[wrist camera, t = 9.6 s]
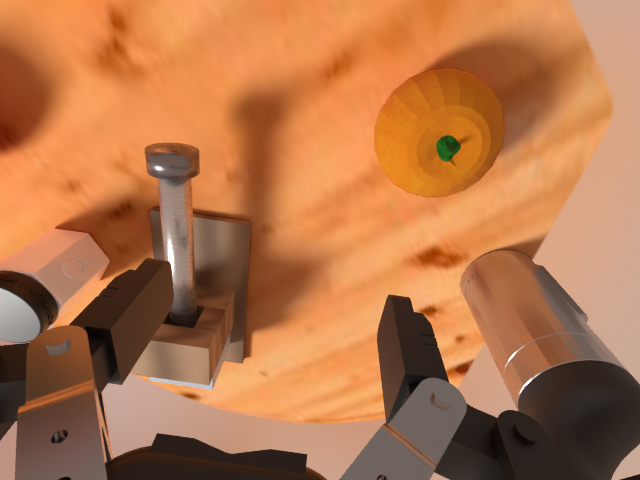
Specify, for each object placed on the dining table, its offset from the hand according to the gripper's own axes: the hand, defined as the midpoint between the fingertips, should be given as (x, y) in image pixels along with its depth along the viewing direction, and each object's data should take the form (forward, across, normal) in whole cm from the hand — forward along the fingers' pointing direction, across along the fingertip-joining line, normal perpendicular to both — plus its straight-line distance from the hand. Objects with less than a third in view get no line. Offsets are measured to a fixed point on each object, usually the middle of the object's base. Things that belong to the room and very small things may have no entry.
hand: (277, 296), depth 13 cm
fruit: (+28, -11, -2) cm, 31 cm away
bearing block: (+28, +13, +25) cm, 40 cm away
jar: (+28, +30, +21) cm, 46 cm away
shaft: (+23, +13, +14) cm, 30 cm away
